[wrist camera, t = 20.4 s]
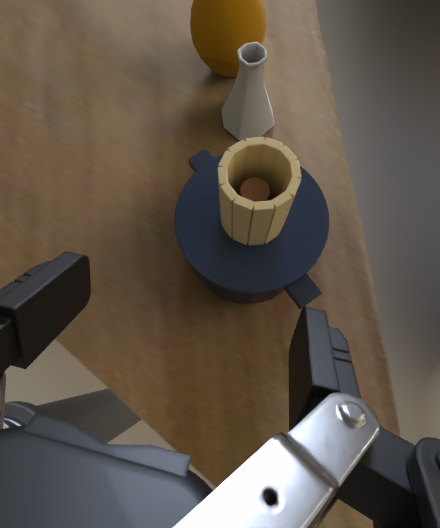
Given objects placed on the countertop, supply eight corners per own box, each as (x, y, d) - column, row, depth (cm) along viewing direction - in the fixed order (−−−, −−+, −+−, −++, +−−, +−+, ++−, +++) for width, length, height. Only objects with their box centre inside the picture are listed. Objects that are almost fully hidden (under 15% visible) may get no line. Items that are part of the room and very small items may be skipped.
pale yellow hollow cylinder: (245, 257, 30) (250, 225, 23) (208, 208, 31) (202, 163, 24) (297, 222, 31) (318, 180, 23) (259, 176, 32) (267, 123, 25)
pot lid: (232, 326, 29) (233, 318, 23) (148, 205, 33) (130, 171, 27) (357, 237, 31) (387, 209, 25) (265, 132, 35) (272, 86, 29)
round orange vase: (186, 51, 48) (172, -43, 37) (247, 33, 49) (253, -64, 38) (206, 101, 46) (198, 17, 34) (271, 82, 46) (284, -7, 35)
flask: (235, 149, 43) (237, 90, 34) (212, 109, 45) (207, 41, 36) (283, 128, 44) (298, 64, 35) (259, 89, 46) (266, 18, 36)
